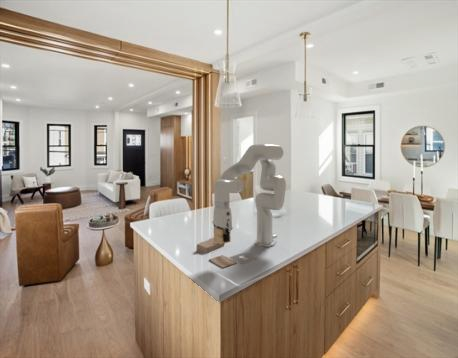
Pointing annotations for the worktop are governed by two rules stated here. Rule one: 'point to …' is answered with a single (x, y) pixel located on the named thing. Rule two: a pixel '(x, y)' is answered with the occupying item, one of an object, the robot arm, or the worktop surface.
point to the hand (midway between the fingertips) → (222, 239)
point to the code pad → (243, 258)
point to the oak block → (219, 235)
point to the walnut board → (222, 261)
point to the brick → (208, 246)
